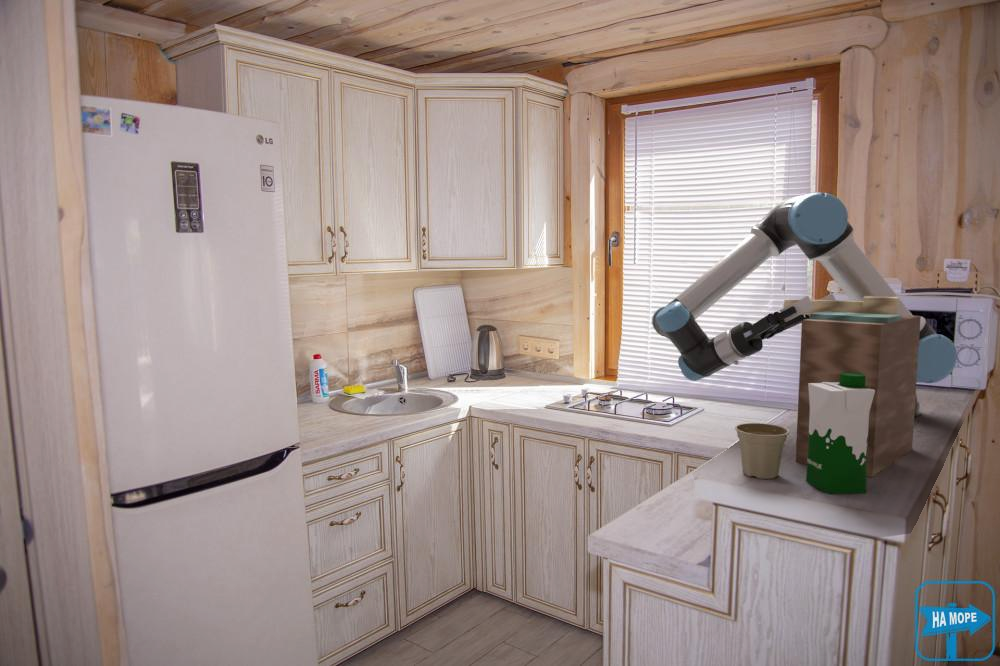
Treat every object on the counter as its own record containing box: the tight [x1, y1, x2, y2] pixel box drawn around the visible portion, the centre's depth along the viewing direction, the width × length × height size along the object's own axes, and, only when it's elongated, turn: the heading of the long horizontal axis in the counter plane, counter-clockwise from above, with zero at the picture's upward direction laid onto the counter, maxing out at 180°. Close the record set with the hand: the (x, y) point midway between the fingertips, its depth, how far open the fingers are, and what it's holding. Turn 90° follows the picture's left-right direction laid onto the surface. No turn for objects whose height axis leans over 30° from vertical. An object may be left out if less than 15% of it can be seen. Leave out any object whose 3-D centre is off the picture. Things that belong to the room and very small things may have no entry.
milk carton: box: [805, 372, 875, 495], centre depth 123 cm, size 9×9×20 cm
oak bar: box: [783, 296, 899, 316], centre depth 147 cm, size 21×6×4 cm, turn 60°
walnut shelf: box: [795, 311, 922, 478], centre depth 143 cm, size 14×26×29 cm, turn 136°
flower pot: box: [734, 422, 790, 480], centre depth 131 cm, size 9×9×9 cm
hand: (823, 300), depth 151 cm, fingers open, 13 cm apart
